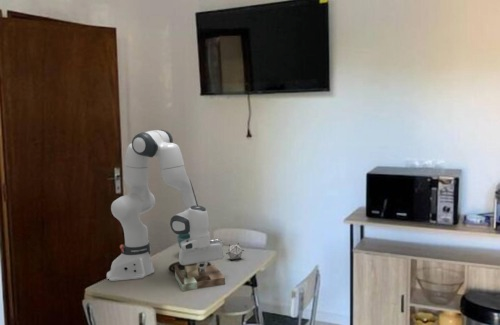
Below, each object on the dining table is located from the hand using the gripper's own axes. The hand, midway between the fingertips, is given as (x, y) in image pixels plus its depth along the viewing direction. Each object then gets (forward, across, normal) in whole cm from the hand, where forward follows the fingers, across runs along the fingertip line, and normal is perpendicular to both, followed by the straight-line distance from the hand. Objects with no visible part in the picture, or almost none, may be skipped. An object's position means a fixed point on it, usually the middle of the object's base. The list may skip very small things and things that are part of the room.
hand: (202, 271), depth 229 cm
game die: (+4, -22, -22) cm, 32 cm away
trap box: (+4, +2, 0) cm, 4 cm away
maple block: (+1, +5, 0) cm, 5 cm away
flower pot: (+4, -4, -40) cm, 41 cm away
